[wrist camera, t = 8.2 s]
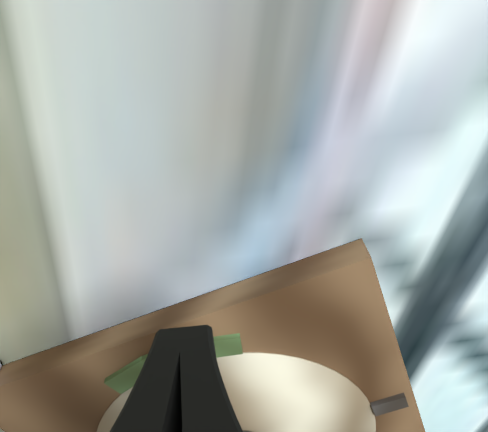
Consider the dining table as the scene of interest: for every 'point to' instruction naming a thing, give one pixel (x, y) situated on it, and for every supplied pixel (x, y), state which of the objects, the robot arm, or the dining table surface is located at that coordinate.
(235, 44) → the dining table surface
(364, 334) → the board
